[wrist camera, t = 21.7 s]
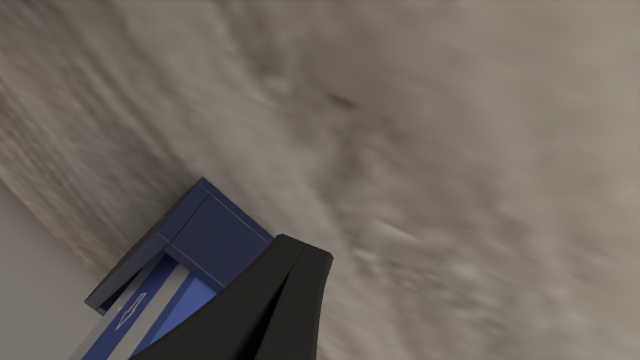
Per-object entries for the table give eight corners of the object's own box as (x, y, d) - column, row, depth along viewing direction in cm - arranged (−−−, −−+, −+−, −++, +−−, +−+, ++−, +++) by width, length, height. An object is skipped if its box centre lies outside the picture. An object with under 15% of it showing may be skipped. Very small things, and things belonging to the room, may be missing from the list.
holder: (127, 252, 34) (83, 302, 30) (202, 176, 26) (155, 231, 23) (200, 308, 35) (165, 362, 32) (291, 252, 28) (259, 315, 24)
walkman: (229, 228, 27) (86, 432, 18) (257, 260, 28) (135, 469, 19) (151, 253, 31) (6, 428, 23) (178, 281, 33) (49, 458, 24)
